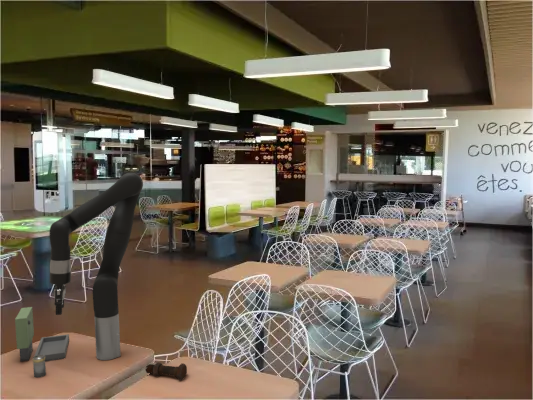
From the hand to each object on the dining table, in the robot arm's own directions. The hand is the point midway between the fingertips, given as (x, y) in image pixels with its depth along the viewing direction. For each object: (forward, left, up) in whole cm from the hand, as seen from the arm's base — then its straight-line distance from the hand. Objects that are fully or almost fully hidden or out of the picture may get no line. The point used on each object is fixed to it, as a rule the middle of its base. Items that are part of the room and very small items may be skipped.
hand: (59, 311), depth 181 cm
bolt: (-37, +27, -20) cm, 51 cm away
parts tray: (+5, -11, -20) cm, 23 cm away
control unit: (+14, -9, -20) cm, 26 cm away
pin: (+7, +11, -20) cm, 24 cm away
